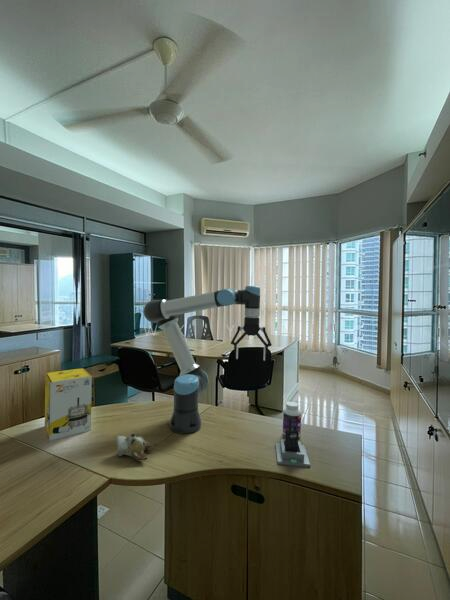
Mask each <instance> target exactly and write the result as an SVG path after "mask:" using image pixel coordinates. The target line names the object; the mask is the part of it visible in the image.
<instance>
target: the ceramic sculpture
mask: <svg viewBox="0 0 450 600" xmlns="http://www.w3.org/2000/svg"><path fill="white" fill-rule="evenodd" d="M115 446H116V449H117V455H118V456H119V457H121V456H123V455H124V456H129V457H132V458H134V459H135V460H136V461H144V460H148V459H149V457H147V455H146V453H145V451H146V450H148V451H149V450H151V449H153V448H154V447H156V446H157V444H152V443H150V442H149V441H146V439H144V437H143V436H140V435H136V434H135V433H131V434H129V435H128V436H124V435H116V436H115Z"/></svg>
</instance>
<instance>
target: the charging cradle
mask: <svg viewBox="0 0 450 600" xmlns="http://www.w3.org/2000/svg"><path fill="white" fill-rule="evenodd" d="M274 446H275V452H276V461H277V465H281V466H282V465H284V466H295V467H304V468H305V467H306V468H311V463H310V460H309V457H308V453H307V450H306V448H305V445H304V444H302V442H301V441H300V440H298V452H288V451H285V439H280V442H275V445H274Z"/></svg>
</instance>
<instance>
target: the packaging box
mask: <svg viewBox="0 0 450 600" xmlns="http://www.w3.org/2000/svg"><path fill="white" fill-rule="evenodd" d="M44 376H45V377H44V428H45V431H46V434H47V436H48V440H49V441H50V442H51V441H55V440H59V439H62V438H66V437H69V436H74V435H77V434H81V433H85V432H89V431H92V398H93V397H92V395H93V393H92V389H93V388H92V387H93V385H92V384H93V375H92V374H90V373H89V372H88V371H87V370H86V369H85V368H84V367H82V368H75V369H74V368H73V369H68V370H67V369H66V370H60V371H59V370H58V371H51V372H50V371H49V372H45V374H44Z"/></svg>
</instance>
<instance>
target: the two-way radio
mask: <svg viewBox="0 0 450 600" xmlns="http://www.w3.org/2000/svg"><path fill="white" fill-rule="evenodd" d="M299 437H300V436H299V433H298V430H297V427H296V425H294V428H291V417H289V426H288V429H286V432H285V435H284V440H285V451H288V452H298V441H299Z"/></svg>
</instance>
